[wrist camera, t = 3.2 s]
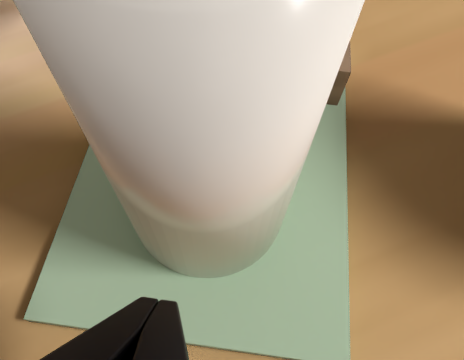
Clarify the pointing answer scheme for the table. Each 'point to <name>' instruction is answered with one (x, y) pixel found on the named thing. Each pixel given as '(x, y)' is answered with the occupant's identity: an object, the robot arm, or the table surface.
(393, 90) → the table surface
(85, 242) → the green mat
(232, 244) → the white rounded block
